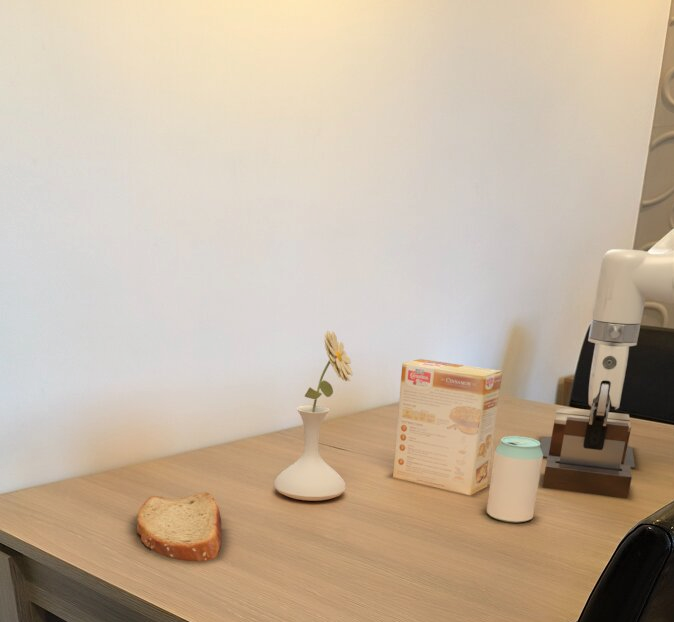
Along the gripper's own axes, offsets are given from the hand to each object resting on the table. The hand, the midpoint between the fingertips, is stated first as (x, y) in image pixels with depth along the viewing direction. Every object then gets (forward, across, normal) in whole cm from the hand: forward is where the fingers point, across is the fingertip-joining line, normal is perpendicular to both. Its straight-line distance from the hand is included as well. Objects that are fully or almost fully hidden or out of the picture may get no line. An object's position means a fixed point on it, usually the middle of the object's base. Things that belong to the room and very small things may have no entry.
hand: (592, 445), depth 140 cm
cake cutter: (+7, 0, 0) cm, 7 cm away
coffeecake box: (+8, -8, +24) cm, 26 cm away
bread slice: (+7, -46, +53) cm, 71 cm away
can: (+8, -21, +11) cm, 25 cm away
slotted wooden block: (+7, 0, 0) cm, 7 cm away
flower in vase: (+8, -23, +42) cm, 49 cm away
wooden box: (+8, +24, 0) cm, 25 cm away
